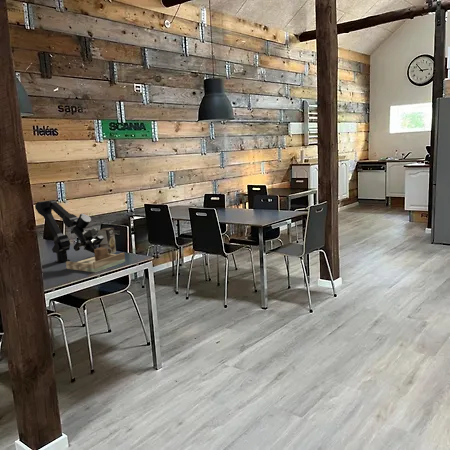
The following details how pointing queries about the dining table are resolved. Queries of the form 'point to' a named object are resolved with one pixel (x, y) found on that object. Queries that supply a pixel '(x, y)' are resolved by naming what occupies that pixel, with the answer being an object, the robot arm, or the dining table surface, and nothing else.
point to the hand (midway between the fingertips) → (97, 253)
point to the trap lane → (97, 263)
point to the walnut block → (100, 253)
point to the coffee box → (108, 240)
